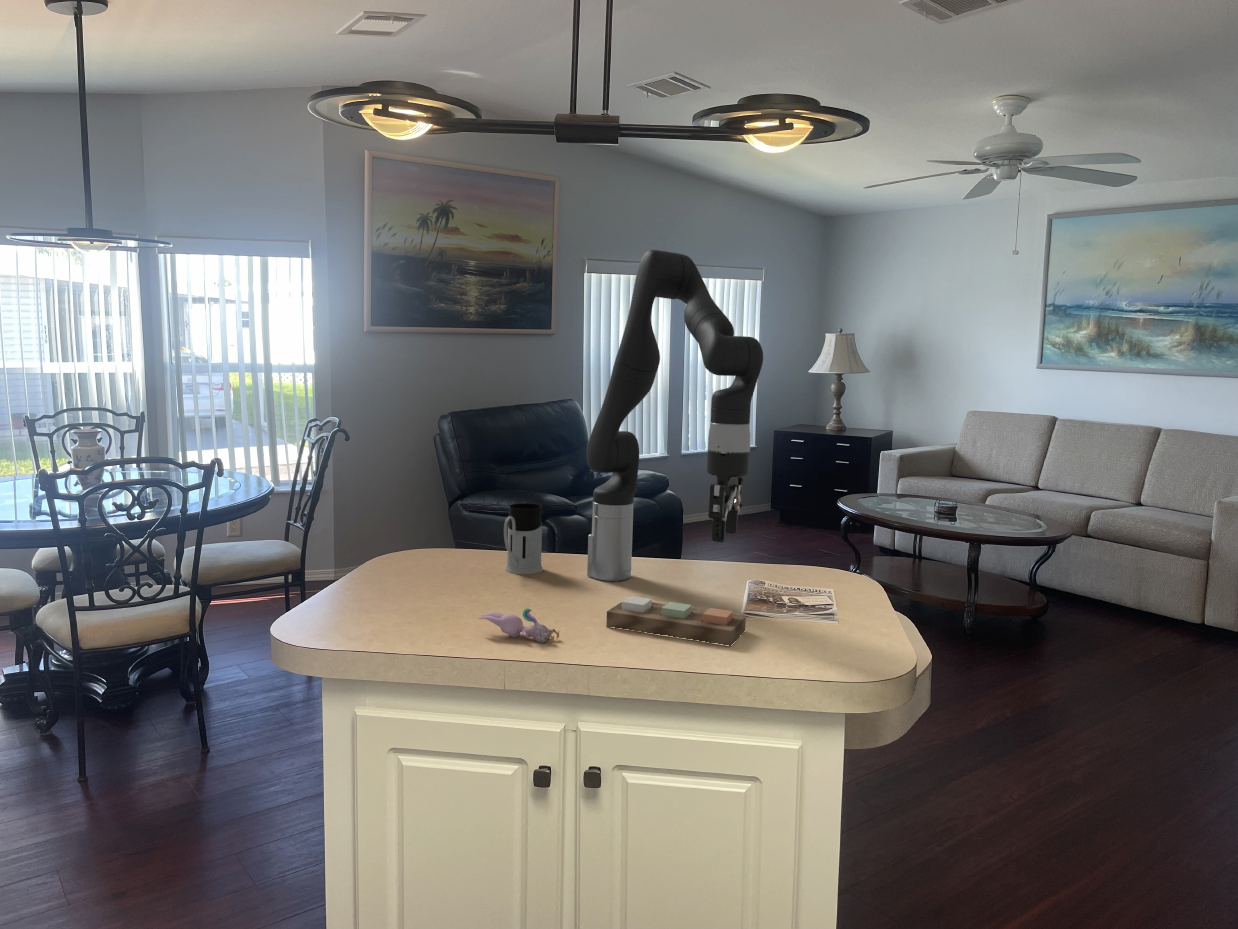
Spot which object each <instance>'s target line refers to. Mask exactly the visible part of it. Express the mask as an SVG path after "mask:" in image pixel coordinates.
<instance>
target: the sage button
mask: <svg viewBox="0 0 1238 929" xmlns="http://www.w3.org/2000/svg"><path fill="white" fill-rule="evenodd" d="M665 604H666V605H665V606H663V607H662V613H661V616H667V617H674V618H681V619H686V618H687V617H688V616H689V615H691V610H692V608H693V607H692V604H686V603H679V602H673V601H669V602H668V603H665Z"/></svg>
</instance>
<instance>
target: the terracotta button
mask: <svg viewBox="0 0 1238 929" xmlns="http://www.w3.org/2000/svg"><path fill="white" fill-rule="evenodd" d="M706 610H707V611H706V612H705V613H704V614H703V622H707V623H713V624H720V625H728V624H730V623H731V622H732V621H733V614H734V611H733V610H727V609H720V608H714V607H709V608H708V609H706Z"/></svg>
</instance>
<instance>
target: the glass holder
mask: <svg viewBox="0 0 1238 929" xmlns="http://www.w3.org/2000/svg"><path fill="white" fill-rule="evenodd" d="M542 506H543V505H541V504H538V503H527V502H526V503H525V502H524V503H523V502H520V503H513V504H509V506H508V516H507V518H505V520H504V523H503V539H504V540H503V541H504V544H505V545H504V546H505V548H506V551H507V553H506V555H507V558H506V559H507V560H506V561H507V562H506V566H505V569H504V570H505V572H507V573H510V574H514V573H515V575H516V574H517V575H534V574H535V575H536V574H539V573H541V572H543V570H544V568H543V566H542V543H543V542H542V540H543V539H542V538H543V537H542V536H543V525H542V524H543V523H542V509H543V508H542Z"/></svg>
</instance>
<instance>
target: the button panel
mask: <svg viewBox="0 0 1238 929" xmlns="http://www.w3.org/2000/svg"><path fill="white" fill-rule="evenodd" d="M666 604H667V603H660V602H654V601H652V606H651V608H650V609H649V610H648V611H646V612H645V613H641V612H635V611H628V610H622V601H621V602H619V603H618V604H616V605H614V606H613V607H611V608H610V609H608V610H607V611H606V622H605V623H606V624H605V626H606V628H609V627H615V628H614V629H616V628H622V629H629V630H634V631H641V632H647V633H653V634H660V635H668V636H673V637H679V638H686V639H693V640H699V641H705V642H709V643H718V644H723V645H729V646H731V645H732V644H733V643H734V642H735V641H736V640H737V639H738V638H739V637H740V635H742V636H743V634H744V633H745V632H746V626H747V625H746V624H747V623H746V621H747V616H746V615H742V614H737V613H736V614H735V613H733V621H732V622H731V623H730V624H728V625H720V624H713V623H707V622H703V614H704V613H705V612H706V611H707V610H708V609H701V608H693V607H692V610H691V615H689V616H688V617H687V618H686V619H681V618H674V617H667V616H661V613H662V607H663V606H665V605H666ZM622 629H621V630H622ZM634 631H633V632H634ZM744 631H745V632H744ZM743 632H744V633H743ZM647 633H646V634H647ZM742 633H743V634H742ZM653 634H652V635H653ZM740 638H741V637H740ZM740 638H739V639H740ZM739 639H738V640H739ZM738 640H737V641H738ZM737 641H736V642H737ZM736 642H735V643H736ZM709 643H708V644H709ZM735 643H734V644H735ZM734 644H733V645H734ZM733 645H732V646H733ZM732 646H731V647H732Z"/></svg>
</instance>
